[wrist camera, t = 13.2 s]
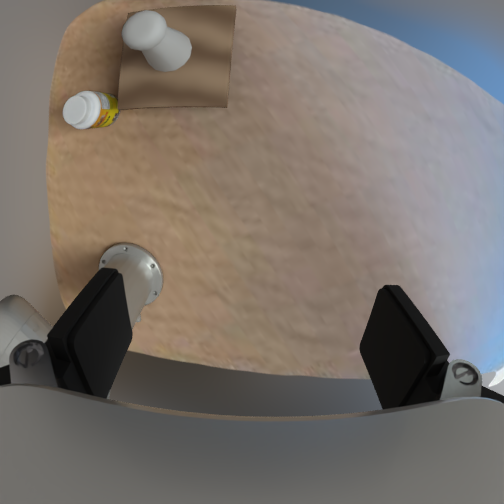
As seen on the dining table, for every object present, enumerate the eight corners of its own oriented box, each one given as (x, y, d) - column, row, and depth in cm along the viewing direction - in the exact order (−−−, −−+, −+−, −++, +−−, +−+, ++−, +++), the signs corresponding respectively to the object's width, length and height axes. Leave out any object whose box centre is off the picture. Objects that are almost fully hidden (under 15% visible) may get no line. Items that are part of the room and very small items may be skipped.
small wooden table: (229, 109, 40) (226, 107, 34) (133, 110, 39) (117, 109, 34) (237, 19, 33) (235, 5, 28) (141, 24, 33) (128, 13, 27)
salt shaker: (190, 75, 32) (163, 54, 20) (149, 74, 32) (106, 56, 20) (198, 36, 30) (175, -1, 18) (156, 35, 29) (118, 4, 18)
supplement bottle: (97, 132, 40) (63, 137, 31) (89, 102, 38) (54, 101, 28) (125, 119, 40) (95, 120, 30) (117, 88, 37) (86, 82, 28)
